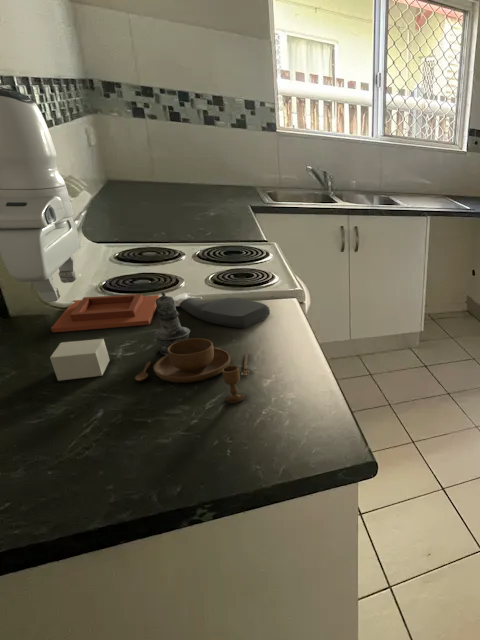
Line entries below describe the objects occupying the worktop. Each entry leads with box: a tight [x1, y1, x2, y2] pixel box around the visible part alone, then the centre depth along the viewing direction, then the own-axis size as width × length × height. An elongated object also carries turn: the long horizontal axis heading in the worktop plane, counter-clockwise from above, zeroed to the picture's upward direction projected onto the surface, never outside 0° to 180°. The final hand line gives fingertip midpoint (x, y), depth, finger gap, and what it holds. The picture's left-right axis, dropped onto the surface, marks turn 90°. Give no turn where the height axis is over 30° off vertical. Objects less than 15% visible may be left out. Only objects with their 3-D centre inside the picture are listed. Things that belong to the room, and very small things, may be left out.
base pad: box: [50, 293, 160, 333], centre depth 104 cm, size 16×16×2 cm
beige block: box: [49, 338, 111, 382], centre depth 83 cm, size 6×6×4 cm
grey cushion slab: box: [171, 291, 271, 329], centre depth 110 cm, size 3×11×24 cm
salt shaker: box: [153, 291, 191, 356], centre depth 91 cm, size 6×6×12 cm
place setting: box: [134, 337, 250, 404], centre depth 83 cm, size 18×20×6 cm
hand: (61, 290), depth 78 cm, fingers open, 8 cm apart
